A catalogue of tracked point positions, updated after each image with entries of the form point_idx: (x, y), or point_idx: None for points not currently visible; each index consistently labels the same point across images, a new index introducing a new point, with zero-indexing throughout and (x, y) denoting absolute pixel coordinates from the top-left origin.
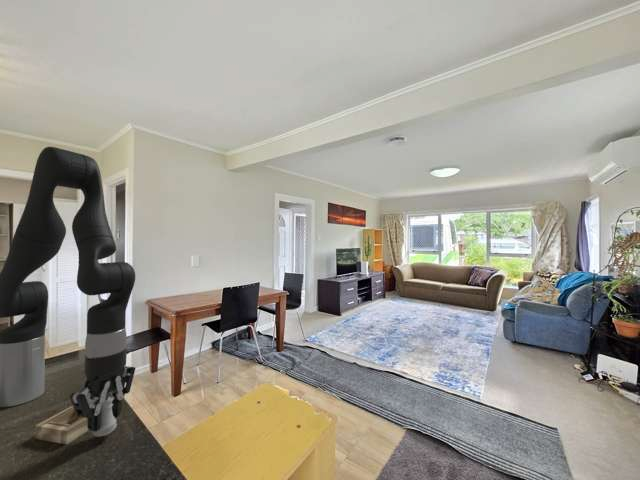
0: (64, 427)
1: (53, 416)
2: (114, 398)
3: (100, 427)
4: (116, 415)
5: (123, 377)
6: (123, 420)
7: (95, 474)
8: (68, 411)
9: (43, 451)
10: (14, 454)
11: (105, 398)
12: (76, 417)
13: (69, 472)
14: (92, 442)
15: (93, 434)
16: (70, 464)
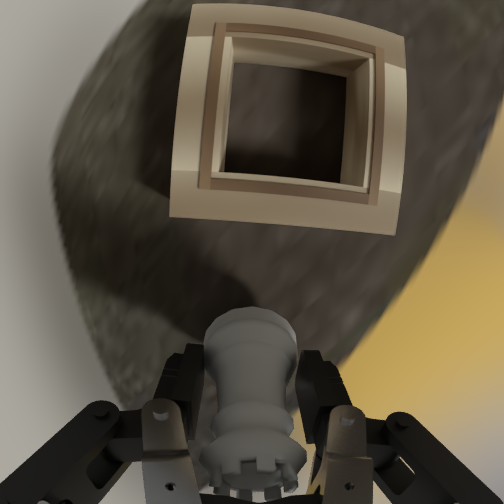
0: (192, 168)
1: (274, 11)
2: (321, 438)
3: (210, 378)
4: (297, 384)
5: (431, 499)
6: (355, 311)
7: (121, 406)
8: (329, 47)
9: (138, 148)
10: (117, 58)
11: (240, 485)
12: (349, 77)
13: (98, 343)
14: (215, 303)
15: (205, 333)
16: (116, 321)
